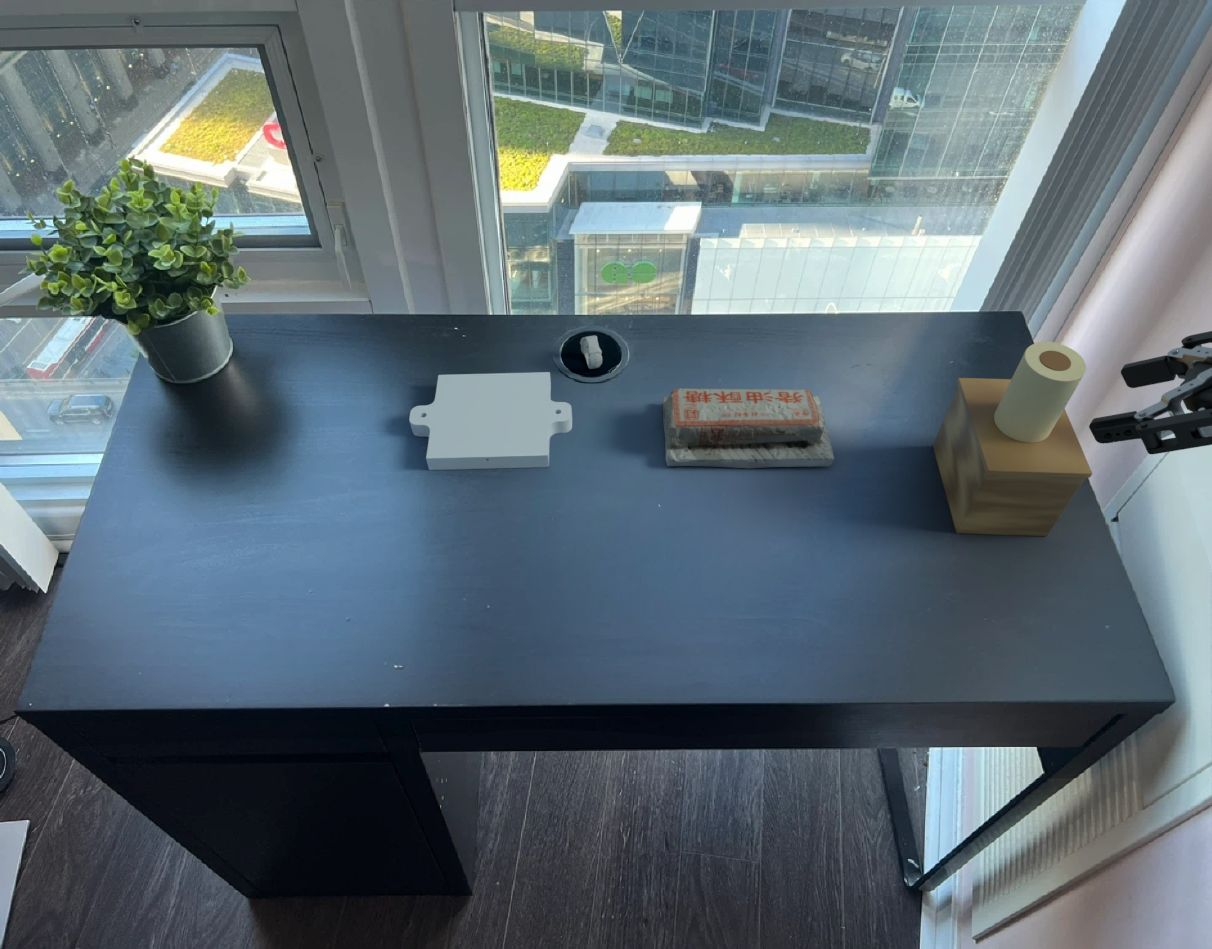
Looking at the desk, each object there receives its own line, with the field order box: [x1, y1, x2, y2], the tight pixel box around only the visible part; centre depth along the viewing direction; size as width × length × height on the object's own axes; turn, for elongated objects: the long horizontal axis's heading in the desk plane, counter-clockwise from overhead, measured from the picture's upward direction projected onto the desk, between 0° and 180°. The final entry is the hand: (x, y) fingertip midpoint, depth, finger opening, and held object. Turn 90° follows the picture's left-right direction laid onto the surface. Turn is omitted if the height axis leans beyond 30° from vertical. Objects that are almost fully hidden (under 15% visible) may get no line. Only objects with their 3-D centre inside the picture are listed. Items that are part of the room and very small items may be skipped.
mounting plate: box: [408, 371, 573, 471], centre depth 94 cm, size 18×13×2 cm
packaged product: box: [662, 387, 835, 469], centre depth 92 cm, size 18×5×10 cm
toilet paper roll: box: [994, 341, 1087, 443], centre depth 78 cm, size 5×5×8 cm
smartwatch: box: [579, 335, 603, 370], centre depth 100 cm, size 4×2×4 cm, turn 14°
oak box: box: [932, 377, 1093, 537], centre depth 85 cm, size 12×9×10 cm
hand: (1109, 403), depth 74 cm, fingers open, 8 cm apart
